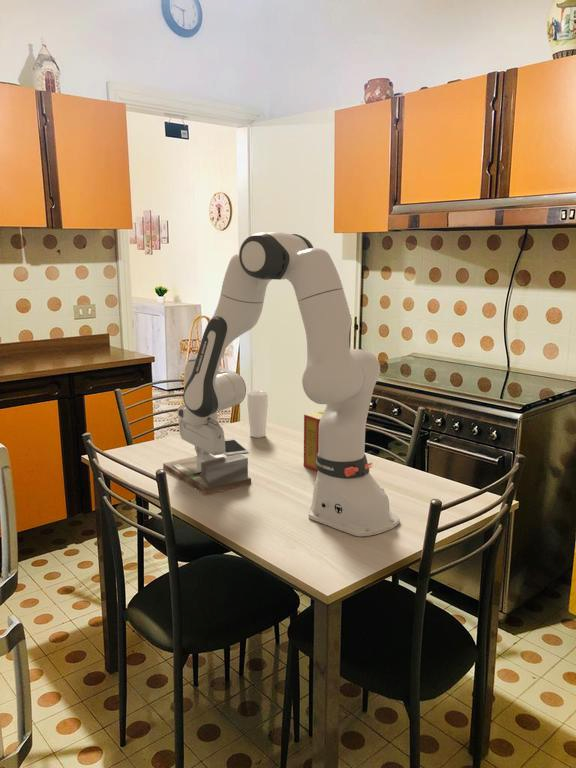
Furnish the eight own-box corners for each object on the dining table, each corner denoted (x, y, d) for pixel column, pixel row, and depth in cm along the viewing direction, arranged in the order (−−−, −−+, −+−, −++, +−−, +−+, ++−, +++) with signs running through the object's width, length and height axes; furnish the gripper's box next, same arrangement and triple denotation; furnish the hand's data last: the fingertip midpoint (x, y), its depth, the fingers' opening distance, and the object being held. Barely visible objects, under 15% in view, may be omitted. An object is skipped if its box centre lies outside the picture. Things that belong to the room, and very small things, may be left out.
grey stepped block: (251, 483, 171) (250, 457, 170) (205, 495, 163) (205, 467, 162) (205, 458, 191) (205, 435, 189) (163, 468, 183) (162, 443, 181)
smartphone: (233, 440, 211) (233, 437, 211) (249, 454, 197) (249, 451, 197) (212, 443, 208) (212, 440, 208) (227, 457, 194) (227, 454, 194)
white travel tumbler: (259, 431, 219) (259, 389, 216) (271, 436, 214) (271, 393, 211) (243, 435, 215) (243, 392, 212) (256, 440, 210) (255, 396, 207)
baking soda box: (317, 472, 180) (318, 418, 177) (303, 465, 185) (304, 413, 182) (342, 465, 186) (343, 413, 182) (328, 459, 191) (329, 408, 187)
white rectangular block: (224, 473, 174) (224, 456, 173) (197, 479, 169) (197, 462, 168) (215, 468, 178) (215, 451, 177) (189, 474, 173) (188, 457, 172)
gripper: (230, 420, 169) (231, 469, 172) (194, 405, 185) (195, 450, 188) (209, 424, 165) (211, 474, 168) (174, 408, 181) (176, 454, 184)
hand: (202, 461), depth 178 cm, fingers closed
